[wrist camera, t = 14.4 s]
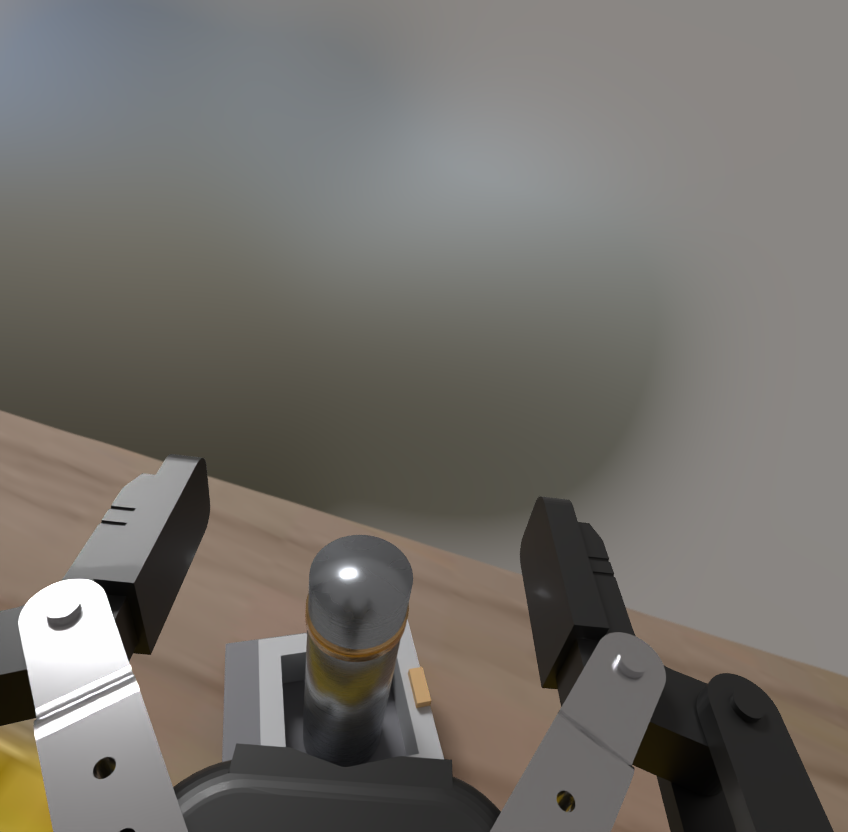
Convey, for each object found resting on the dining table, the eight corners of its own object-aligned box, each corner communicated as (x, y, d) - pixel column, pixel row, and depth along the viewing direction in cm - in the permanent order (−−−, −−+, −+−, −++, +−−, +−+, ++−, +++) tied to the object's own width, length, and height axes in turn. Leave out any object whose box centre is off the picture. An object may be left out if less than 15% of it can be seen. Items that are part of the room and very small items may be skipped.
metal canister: (304, 784, 29) (312, 629, 21) (297, 698, 33) (302, 538, 25) (389, 765, 31) (426, 613, 23) (374, 685, 34) (401, 528, 26)
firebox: (220, 916, 26) (212, 877, 23) (227, 661, 36) (222, 609, 33) (442, 857, 29) (461, 814, 26) (391, 637, 39) (401, 588, 36)
